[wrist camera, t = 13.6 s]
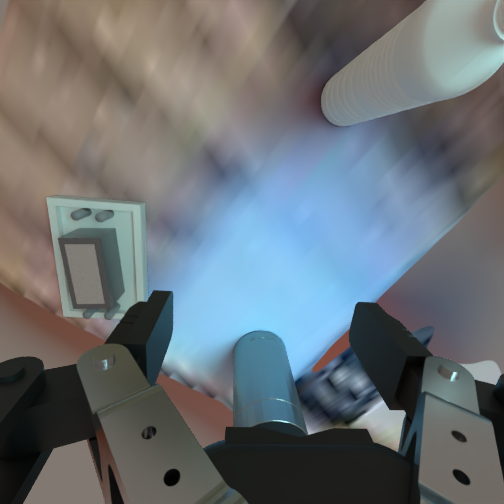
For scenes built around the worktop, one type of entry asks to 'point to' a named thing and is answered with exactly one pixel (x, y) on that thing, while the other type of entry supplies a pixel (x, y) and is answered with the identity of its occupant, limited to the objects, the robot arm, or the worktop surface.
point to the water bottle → (420, 61)
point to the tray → (129, 243)
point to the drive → (92, 267)
